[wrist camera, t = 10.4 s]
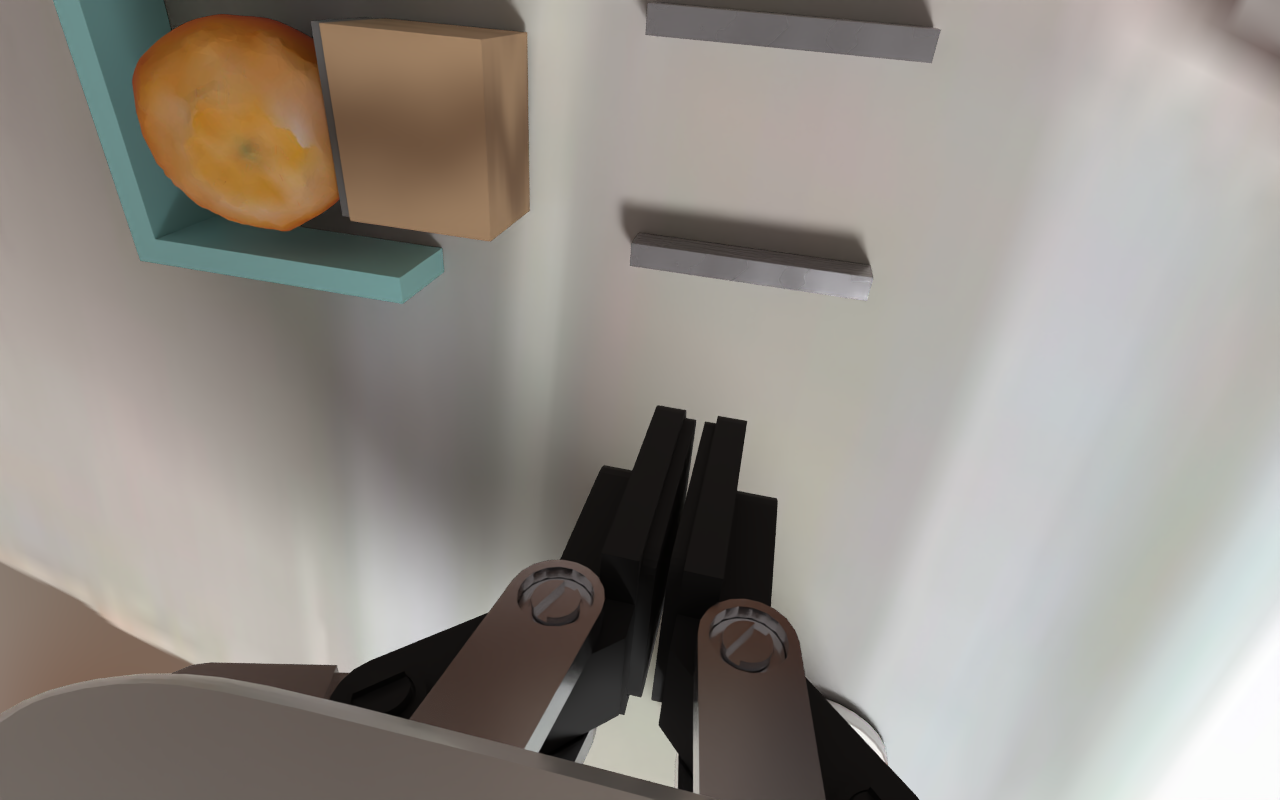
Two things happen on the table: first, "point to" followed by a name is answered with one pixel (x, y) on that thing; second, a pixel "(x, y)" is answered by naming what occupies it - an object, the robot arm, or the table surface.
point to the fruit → (239, 119)
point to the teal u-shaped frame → (174, 224)
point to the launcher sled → (427, 123)
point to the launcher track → (787, 35)
